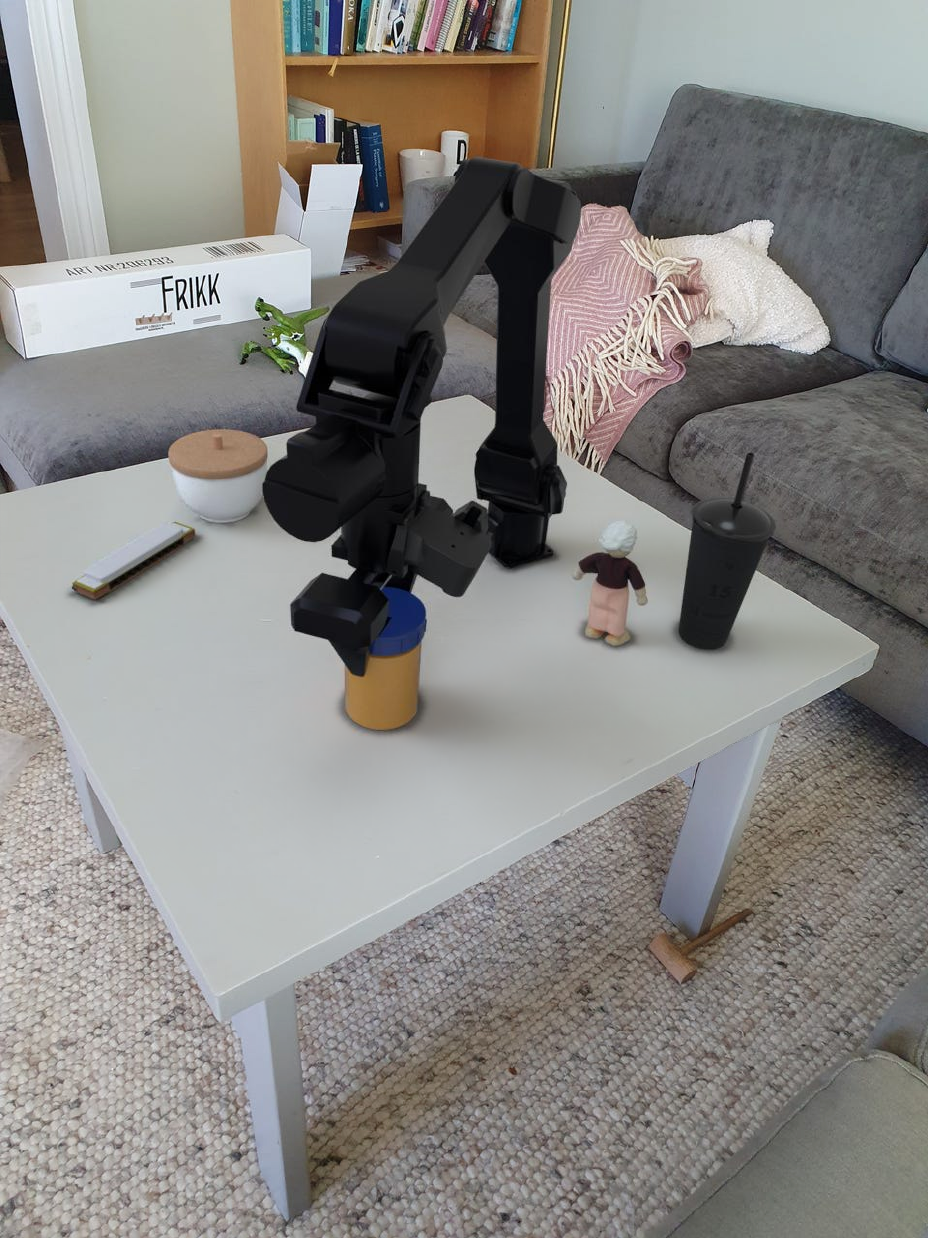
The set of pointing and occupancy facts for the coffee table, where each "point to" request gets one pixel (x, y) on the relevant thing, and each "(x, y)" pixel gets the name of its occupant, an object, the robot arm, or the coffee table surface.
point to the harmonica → (132, 559)
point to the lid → (401, 624)
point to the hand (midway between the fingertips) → (377, 646)
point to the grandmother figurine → (612, 583)
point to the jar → (385, 691)
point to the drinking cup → (721, 564)
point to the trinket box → (219, 473)
